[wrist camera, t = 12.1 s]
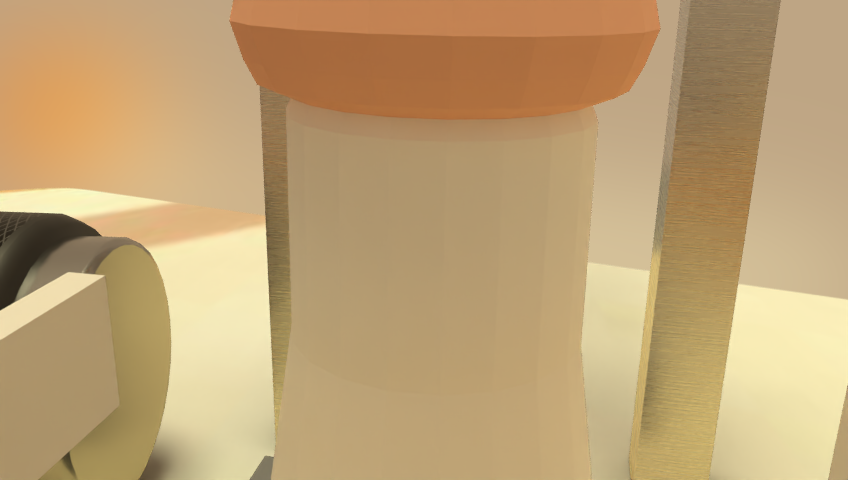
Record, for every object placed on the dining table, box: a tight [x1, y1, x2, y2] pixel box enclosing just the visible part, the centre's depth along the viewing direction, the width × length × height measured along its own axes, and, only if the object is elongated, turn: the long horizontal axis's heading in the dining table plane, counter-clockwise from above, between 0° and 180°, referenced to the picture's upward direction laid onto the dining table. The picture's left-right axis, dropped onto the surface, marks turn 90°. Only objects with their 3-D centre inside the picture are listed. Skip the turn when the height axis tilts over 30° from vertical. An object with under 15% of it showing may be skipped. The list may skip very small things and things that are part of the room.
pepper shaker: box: [229, 0, 660, 480], centre depth 16 cm, size 7×7×19 cm
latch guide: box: [260, 0, 781, 480], centre depth 25 cm, size 2×15×29 cm, turn 79°
